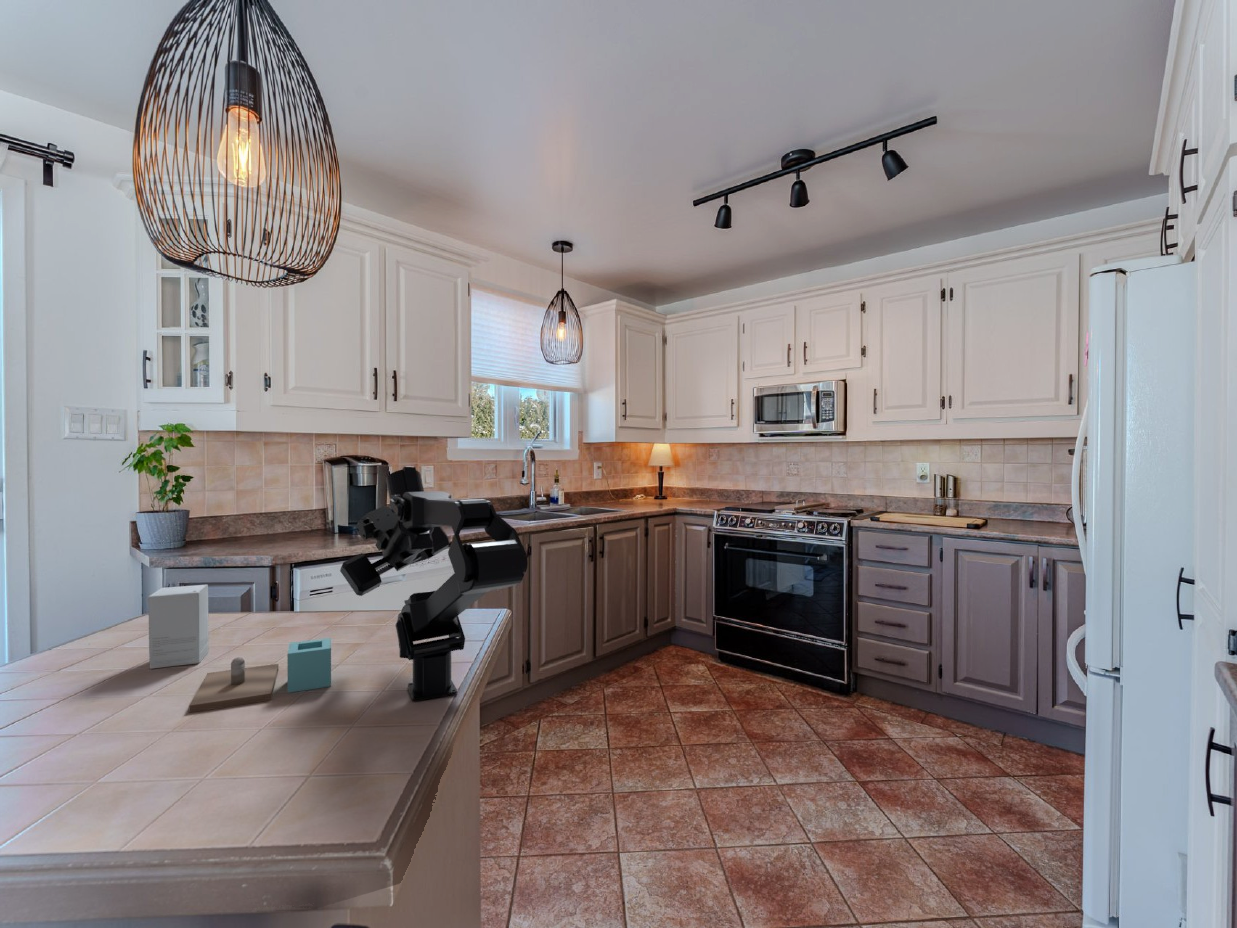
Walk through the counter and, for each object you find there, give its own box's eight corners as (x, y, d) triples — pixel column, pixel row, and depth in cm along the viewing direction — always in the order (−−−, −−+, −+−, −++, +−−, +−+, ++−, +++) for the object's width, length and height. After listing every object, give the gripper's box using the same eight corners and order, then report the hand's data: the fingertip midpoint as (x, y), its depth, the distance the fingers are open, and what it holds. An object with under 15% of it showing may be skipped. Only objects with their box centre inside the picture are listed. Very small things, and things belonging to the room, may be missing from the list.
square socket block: (331, 686, 93) (331, 648, 93) (287, 692, 90) (287, 653, 90) (330, 673, 98) (330, 637, 98) (289, 679, 95) (289, 642, 95)
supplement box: (210, 651, 109) (210, 583, 109) (199, 664, 102) (199, 591, 102) (161, 656, 106) (161, 586, 106) (147, 669, 100) (147, 595, 100)
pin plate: (271, 699, 87) (271, 666, 87) (189, 712, 83) (189, 677, 83) (278, 669, 100) (278, 640, 100) (207, 679, 95) (207, 648, 95)
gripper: (427, 479, 108) (405, 519, 118) (330, 522, 94) (315, 562, 105) (462, 527, 106) (437, 563, 117) (369, 577, 93) (349, 613, 103)
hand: (386, 573), depth 110 cm, fingers open, 9 cm apart
